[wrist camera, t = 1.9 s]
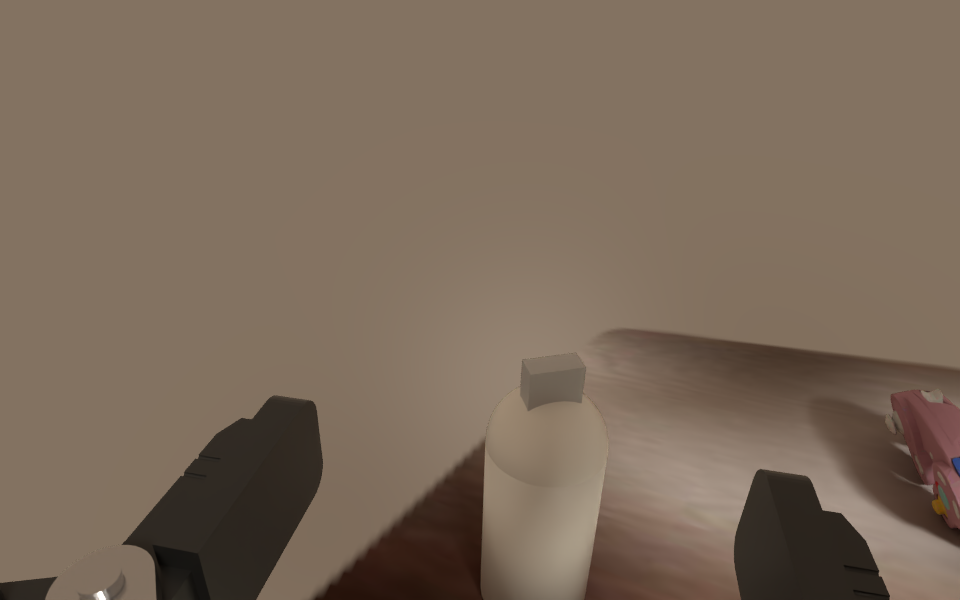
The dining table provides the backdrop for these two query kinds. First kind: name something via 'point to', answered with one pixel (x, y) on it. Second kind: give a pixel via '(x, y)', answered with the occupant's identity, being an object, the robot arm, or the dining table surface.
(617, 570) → the dining table surface
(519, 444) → the bottle with rectangular cap
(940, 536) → the dining table surface
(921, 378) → the dining table surface
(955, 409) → the video game controller
